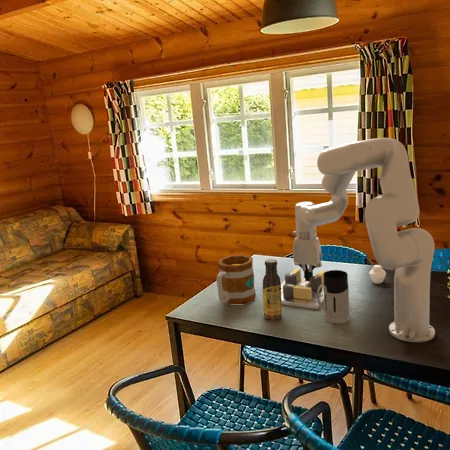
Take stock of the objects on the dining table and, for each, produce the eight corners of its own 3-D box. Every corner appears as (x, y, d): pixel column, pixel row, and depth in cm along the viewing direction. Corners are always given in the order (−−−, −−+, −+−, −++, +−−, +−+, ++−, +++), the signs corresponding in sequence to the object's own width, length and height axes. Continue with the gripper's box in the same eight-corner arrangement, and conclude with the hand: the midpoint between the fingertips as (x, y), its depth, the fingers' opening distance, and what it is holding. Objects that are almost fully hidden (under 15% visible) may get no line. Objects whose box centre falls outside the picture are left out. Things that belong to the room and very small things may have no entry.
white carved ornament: (387, 284, 170) (387, 267, 169) (370, 285, 171) (370, 267, 170) (384, 278, 176) (384, 261, 175) (368, 279, 177) (367, 262, 176)
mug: (232, 289, 180) (228, 253, 176) (262, 293, 173) (259, 256, 169) (205, 309, 164) (201, 270, 160) (237, 314, 157) (234, 274, 153)
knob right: (319, 291, 166) (319, 280, 165) (308, 289, 168) (307, 278, 167) (328, 281, 174) (328, 270, 173) (317, 279, 177) (317, 269, 176)
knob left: (294, 287, 171) (293, 277, 170) (283, 286, 173) (282, 276, 172) (304, 278, 180) (303, 268, 179) (293, 277, 182) (293, 267, 181)
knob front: (281, 297, 163) (280, 286, 162) (286, 293, 167) (285, 282, 166) (308, 301, 158) (308, 290, 157) (313, 296, 162) (312, 285, 161)
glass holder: (356, 315, 148) (354, 272, 144) (331, 332, 139) (329, 286, 135) (333, 309, 154) (331, 267, 151) (307, 324, 145) (305, 280, 141)
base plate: (317, 309, 155) (317, 299, 154) (264, 301, 165) (264, 292, 164) (337, 286, 173) (336, 277, 172) (288, 280, 183) (288, 272, 182)
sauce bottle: (267, 322, 149) (263, 265, 144) (261, 314, 155) (256, 259, 150) (286, 318, 151) (282, 261, 146) (278, 311, 157) (275, 256, 152)
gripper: (284, 236, 172) (287, 281, 176) (322, 238, 164) (324, 285, 168) (291, 231, 178) (294, 275, 182) (328, 233, 170) (330, 278, 174)
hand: (308, 280), depth 175 cm, fingers closed
